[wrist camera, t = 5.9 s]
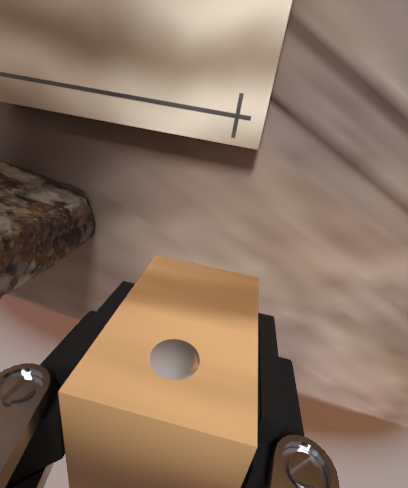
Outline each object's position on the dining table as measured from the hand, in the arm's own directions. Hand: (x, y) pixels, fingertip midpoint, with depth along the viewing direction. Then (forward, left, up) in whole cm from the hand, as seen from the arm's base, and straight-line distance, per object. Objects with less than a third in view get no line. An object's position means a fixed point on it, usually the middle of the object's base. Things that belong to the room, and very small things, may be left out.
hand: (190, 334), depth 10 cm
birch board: (-12, -10, -16) cm, 22 cm away
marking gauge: (+2, 0, -2) cm, 3 cm away
